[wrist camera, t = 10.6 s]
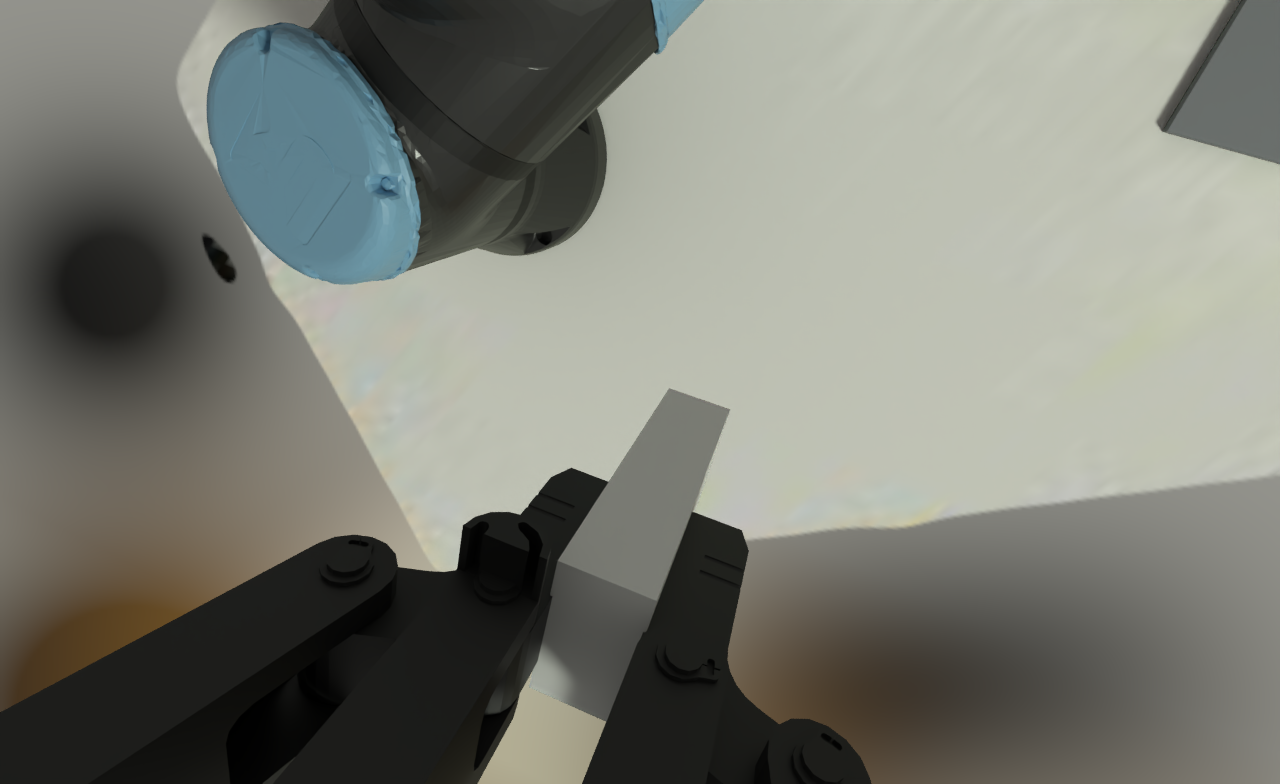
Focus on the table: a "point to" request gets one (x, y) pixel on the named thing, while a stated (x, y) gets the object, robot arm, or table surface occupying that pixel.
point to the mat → (1238, 87)
